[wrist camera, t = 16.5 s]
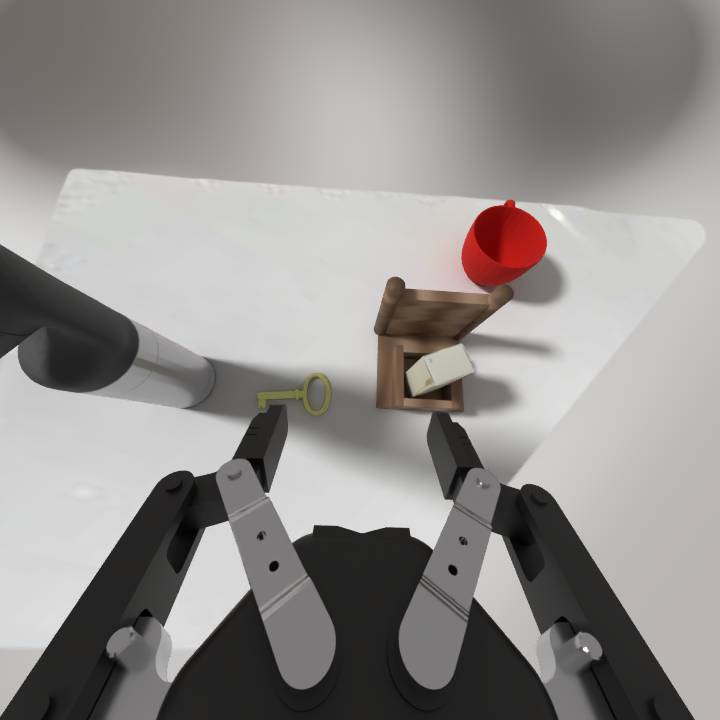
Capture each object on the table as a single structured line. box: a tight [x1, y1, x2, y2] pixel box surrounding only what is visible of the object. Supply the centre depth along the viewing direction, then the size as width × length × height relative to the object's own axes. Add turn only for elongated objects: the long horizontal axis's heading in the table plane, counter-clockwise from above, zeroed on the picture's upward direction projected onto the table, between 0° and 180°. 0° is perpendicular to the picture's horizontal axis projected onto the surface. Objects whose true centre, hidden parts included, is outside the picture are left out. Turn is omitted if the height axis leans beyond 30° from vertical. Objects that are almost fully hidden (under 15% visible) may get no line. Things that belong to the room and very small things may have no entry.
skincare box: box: [404, 344, 475, 398], centre depth 40 cm, size 6×4×12 cm
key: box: [257, 373, 331, 415], centre depth 44 cm, size 7×12×2 cm, turn 112°
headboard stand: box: [374, 277, 514, 412], centre depth 40 cm, size 17×15×16 cm
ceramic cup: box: [462, 200, 547, 286], centre depth 49 cm, size 13×17×10 cm
